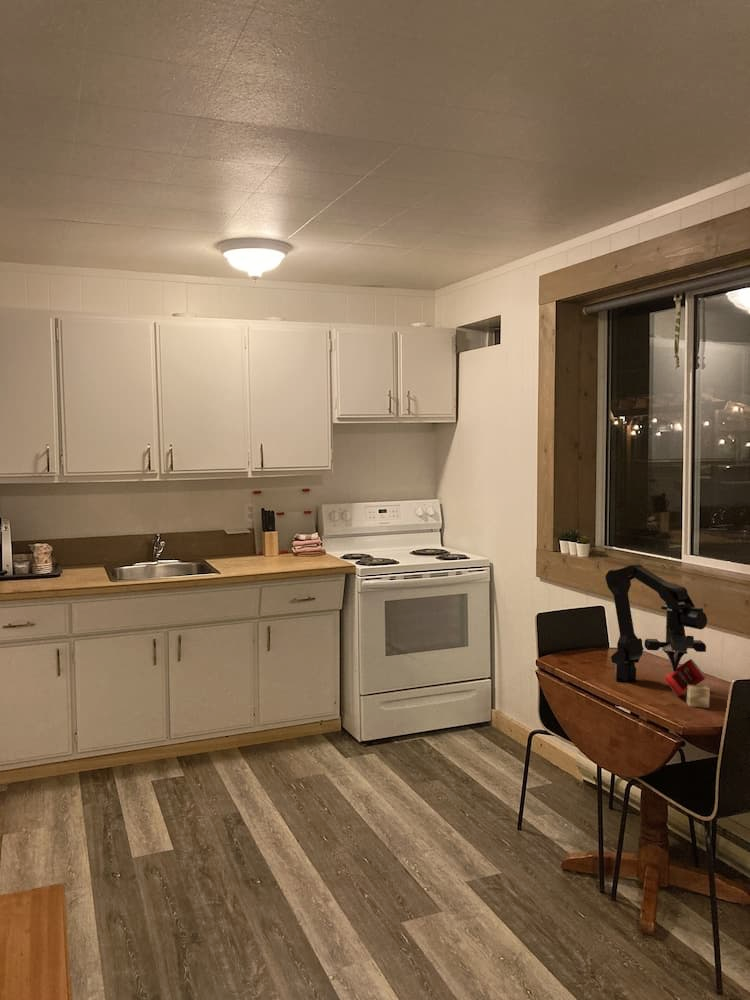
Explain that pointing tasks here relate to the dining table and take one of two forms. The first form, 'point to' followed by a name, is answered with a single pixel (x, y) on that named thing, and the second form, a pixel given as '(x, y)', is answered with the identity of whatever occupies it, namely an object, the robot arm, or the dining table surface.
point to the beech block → (698, 695)
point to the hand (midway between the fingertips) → (674, 670)
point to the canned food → (684, 677)
